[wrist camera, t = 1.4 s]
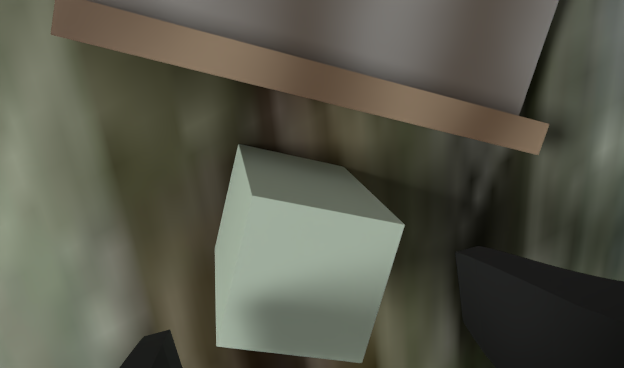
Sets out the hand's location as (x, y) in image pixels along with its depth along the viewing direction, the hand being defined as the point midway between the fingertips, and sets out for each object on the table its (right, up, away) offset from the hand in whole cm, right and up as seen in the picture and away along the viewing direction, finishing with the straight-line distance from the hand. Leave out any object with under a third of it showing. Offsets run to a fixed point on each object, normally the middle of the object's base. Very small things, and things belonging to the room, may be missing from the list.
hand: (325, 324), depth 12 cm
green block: (-2, +2, +9) cm, 9 cm away
